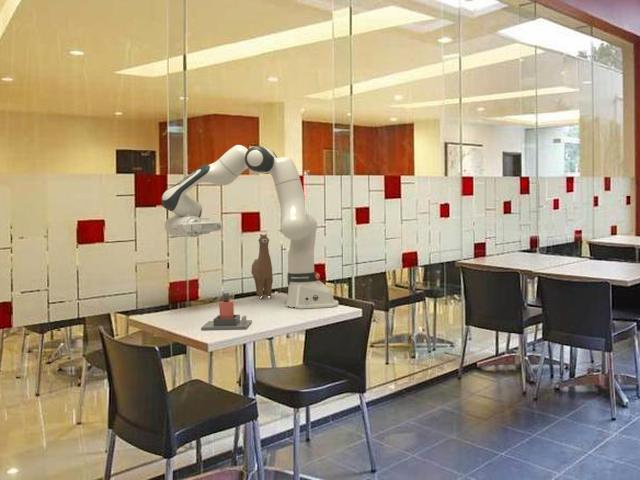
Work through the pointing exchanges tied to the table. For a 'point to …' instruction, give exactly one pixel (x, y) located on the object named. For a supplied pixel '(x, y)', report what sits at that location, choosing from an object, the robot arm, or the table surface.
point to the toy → (263, 268)
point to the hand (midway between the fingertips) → (211, 226)
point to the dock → (227, 323)
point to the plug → (226, 307)
